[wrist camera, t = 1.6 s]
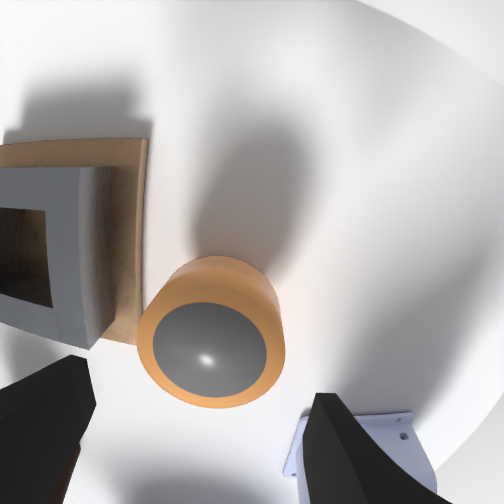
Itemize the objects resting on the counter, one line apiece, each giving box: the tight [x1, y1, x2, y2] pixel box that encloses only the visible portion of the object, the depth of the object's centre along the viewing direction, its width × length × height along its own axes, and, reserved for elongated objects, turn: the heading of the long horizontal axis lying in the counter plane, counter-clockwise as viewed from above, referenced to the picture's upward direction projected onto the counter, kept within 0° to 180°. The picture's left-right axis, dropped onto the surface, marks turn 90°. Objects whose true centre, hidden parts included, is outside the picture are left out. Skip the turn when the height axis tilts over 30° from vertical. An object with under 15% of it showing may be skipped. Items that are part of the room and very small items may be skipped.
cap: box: [136, 256, 285, 408], centre depth 14 cm, size 6×6×6 cm
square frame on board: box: [0, 138, 148, 350], centre depth 15 cm, size 12×12×4 cm
